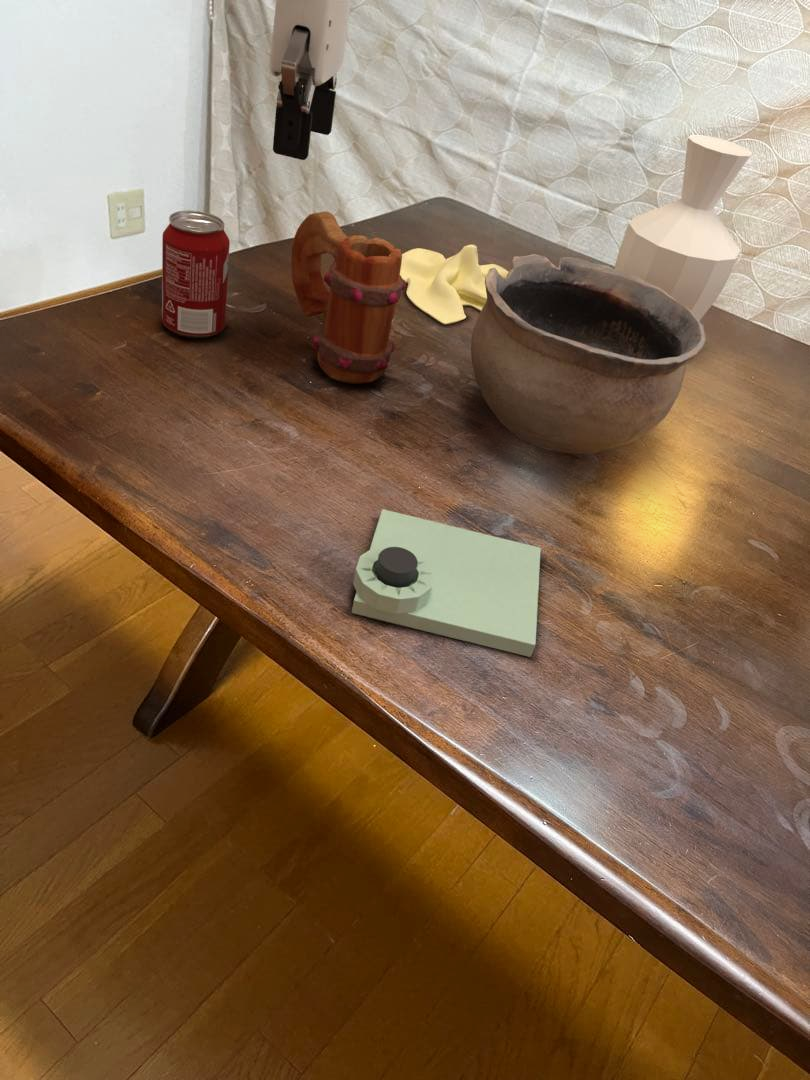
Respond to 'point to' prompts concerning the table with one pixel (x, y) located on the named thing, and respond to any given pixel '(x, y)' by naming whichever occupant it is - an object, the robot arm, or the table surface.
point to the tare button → (396, 567)
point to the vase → (688, 230)
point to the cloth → (446, 282)
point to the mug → (347, 297)
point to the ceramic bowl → (580, 353)
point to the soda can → (194, 274)
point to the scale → (454, 584)
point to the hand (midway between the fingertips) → (303, 143)
